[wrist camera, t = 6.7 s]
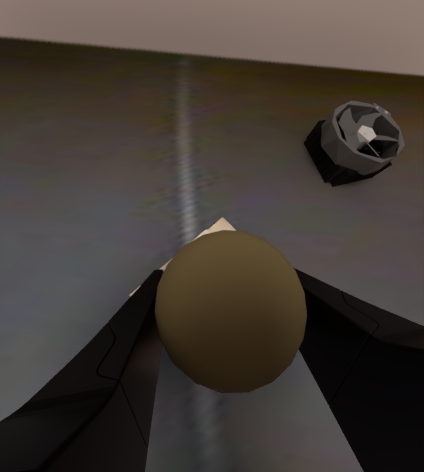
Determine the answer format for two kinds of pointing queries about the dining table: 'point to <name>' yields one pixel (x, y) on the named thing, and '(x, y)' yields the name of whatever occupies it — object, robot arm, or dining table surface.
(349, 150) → the cpu cooler
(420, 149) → the dining table surface
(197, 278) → the cork
